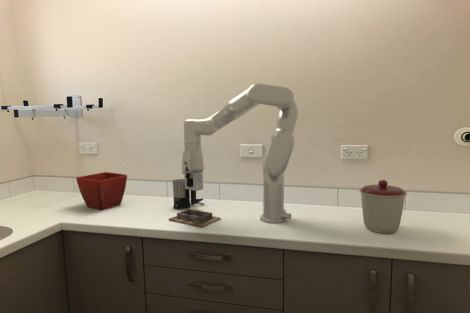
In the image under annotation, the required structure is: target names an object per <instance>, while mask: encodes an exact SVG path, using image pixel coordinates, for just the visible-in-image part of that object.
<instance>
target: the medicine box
mask: <svg viewBox="0 0 470 313" xmlns="http://www.w3.org/2000/svg"><path fill="white" fill-rule="evenodd" d="M203 171H204V170H203ZM203 171H194V172H193V173H192V178H193V187H187V178H186V176H185V175H184V174H183V176H184V179H185V189H189V191H190V190H195V191H196V192H197V191H198V192H199V191H202V190H204V174H203ZM189 175H190V173H189Z"/></svg>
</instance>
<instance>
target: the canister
mask: <svg viewBox="0 0 470 313" xmlns="http://www.w3.org/2000/svg"><path fill="white" fill-rule="evenodd" d="M388 184H389V183H388V181H387V180H385V179H380V180H378V184H367V185H365V186H363V187H361V188H360V189H359V192H360V196H361V205H362V206H361V209H362V218H363V223H364V226H365V227H366V229H368V230H370V231H372V232H376V233H378V234H379V233H381V234H392V233H395V232H397V231H398V230H399V228H400V225H401V220H402V216H403V210H404V204H405V197H406V196H407V194H408V193H407V191H405V190H404V189H402V188H401V187H398V186H394V185H388Z"/></svg>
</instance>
